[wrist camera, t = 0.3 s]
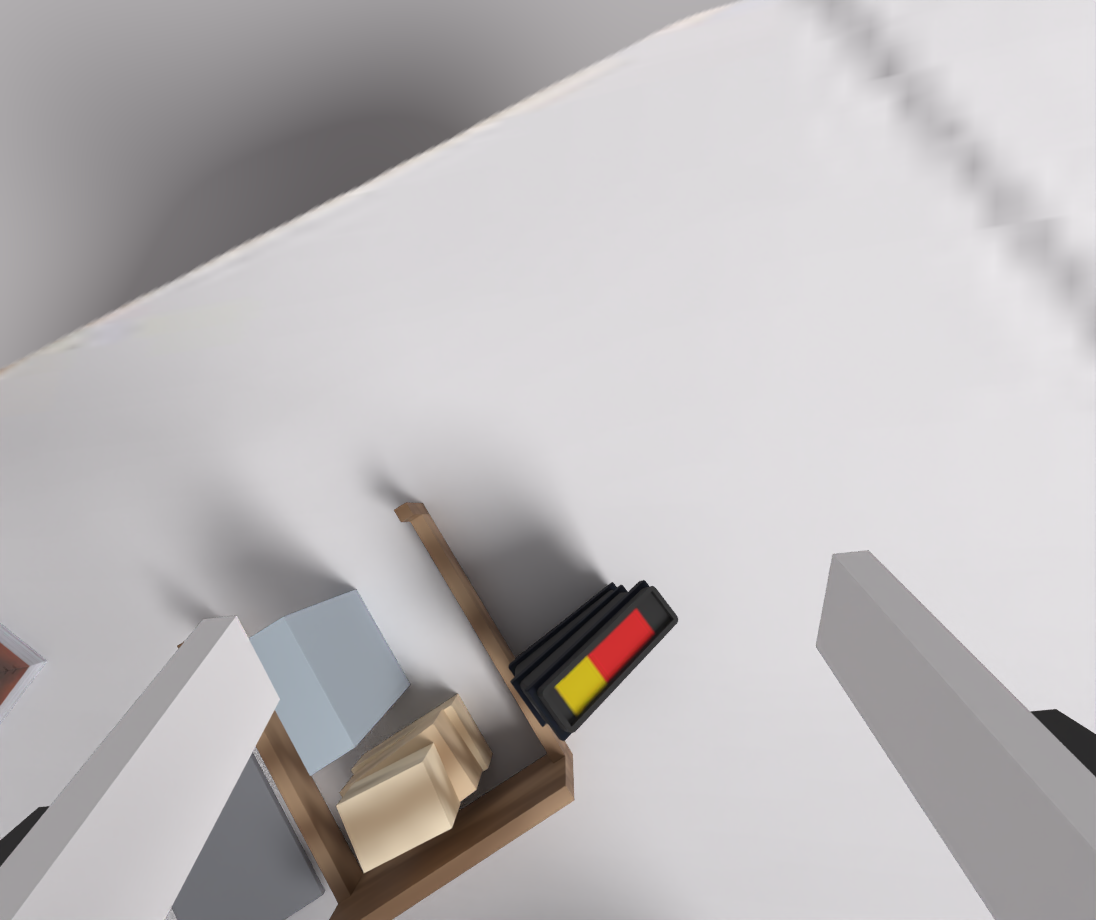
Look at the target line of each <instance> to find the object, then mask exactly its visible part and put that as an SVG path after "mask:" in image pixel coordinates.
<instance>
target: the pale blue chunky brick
mask: <svg viewBox="0 0 1096 920" xmlns="http://www.w3.org/2000/svg"><path fill="white" fill-rule="evenodd" d="M249 640H250V642H251V644H252V646H253V648H254V650H255V652H256V654H257V656H258V658H259V660H260V662H261V663H262V665H263V667H264V669H265V671H266V673H267V675H268V677H269V679H270V681H271V683H272V685H273V687H274V689H275V691H276V693H277V694H278V696H279V698H280V700H279V702H278V704H277V706H276V708H275V711H276V713H277V715H278V717H279V719H280V721H281V722H282V724H283V726H284V728H285V730H286V732H287V734H288V736H289V738H290V739H291V741H292V743H293V745H294V747H295V749H296V751H297V753H298V754H299V756H300V758H301V760H302V762H303V764H304V766H305V768H306V769H307V771H308V773H309V775H310V776H311V775H313V774H314V773H316V772H317V771H319V770H320V769H322V768H324V767H325V766H327V765H328V764H330V763H331V762H333V761H335V760H336V759H338V758H339V757H341V756H342V755H344V754H345V753H347V752H349V751H350V750H352V749H353V748H355V747H356V746H357V745H358V743H359V742H360V741H361V740H362V739H363V738H364V737H365V736H366V734H367V733H368V732H369V731H370V730H371V729H372V728H373V726H374V725H375V724H376V723H377V722H378V721H379V720H380V719H381V717H382V716H383V715H384V714H385V713H386V712H387V711H388V709H389V708H390V707H391V706H392V705H393V704H394V703H395V702H396V700H397V699H398V698H399V697H400V696H401V695H402V694H403V693H404V691H405V690H406V689H407V688H408V687H409V686H410V685H411V684H410V683H409V681H408V679H407V677H406V676H405V674H404V672H403V670H402V669H401V667H400V665H399V663H398V662H397V660H396V658H395V656H394V655H393V653H392V651H391V649H390V647H389V646H388V644H387V642H386V640H385V639H384V637H383V635H382V633H381V632H380V630H379V628H378V626H377V625H376V623H375V621H374V619H373V618H372V616H371V614H370V612H369V611H368V609H367V607H366V605H365V603H364V602H363V600H362V598H361V596H360V595H359V593H358V591H357V589H355V590H353V591H350V592H347V593H345V594H342V595H339V596H337V597H334V598H331V599H329V600H326V601H323V602H321V603H318V604H315V605H313V606H310V607H307V608H305V609H302V610H300V611H297V612H294V613H292V614H289V615H286V616H284V617H282V618H280V619H279V620H277V621H276V622H274V623H272V624H271V625H269V626H268V627H266V628H265V629H263V630H261V631H260V632H258V633H257V634H255V635H253V636H252V637H250V638H249Z"/></svg>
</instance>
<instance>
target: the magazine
mask: <svg viewBox="0 0 1096 920" xmlns="http://www.w3.org/2000/svg"><path fill="white" fill-rule="evenodd" d="M677 622H678V617H677V615H676V614H675V613H674V611H673V610H672V609H671V607H670V606H669V605H668V604H667V602H666V601H665V600H664V598H663V597H662V596H661V594H660V593H659V592H658V590H657V589H656V588H655V587H653V586H651V587H649V585H648V584H647V583H646V581H645V580H643V581H639V582H638V583H637V584H636V585H635V586H634V587H633V588H632V589H631V590H630V591H629V592H627V590H626V589H625V588H624V586H623V585H620V586H618V587H616V586H615V584H614V583H613V582H612V583H610V584H609V585H608V586H607V587H605V588H604V589H603V590H602V591H600V592H599V593H598V594H596V595H595V596H594V597H593V598H591V599H590V600H589V601H588V602H586V603H585V604H584V605H583V606H581V607H580V608H579V609H578V610H576V611H575V612H574V613H573V614H571V615H570V616H569V617H568V618H566V619H565V620H564V621H563V622H561V623H560V624H559V625H557V626H556V627H555V628H554V629H552V630H551V631H550V632H549V633H547V634H546V635H545V636H544V637H542V638H541V639H540V640H538V641H537V642H536V643H535V644H533V645H532V646H531V647H529V648H528V649H527V650H526V651H524V652H523V653H522V654H520V655H519V656H518V657H517V658H516V659H515V660H513V661H512V662H511V663H510V664H509V667H508V668H509V670H510V671H511V672H512V674H513V675H514V678H513V679H512V680H511V681H510V683H511V684H512V685H513V687H514V688H515V690H516V691H517V692H518V694H519V695H520V697H521V698H522V700H523V701H524V702H525V704H526V705H527V707H528V708H529V709H530V711H531V712H532V714H533V715H534V716H535V718H536V719H537V721H538V722H539V724H540V725H541V726H542V727H544V726H545V725H546V724H548V725H549V726H550V727H551V729H552V730H553V732H554V733H555V734H556V736H557V737H558V739H559V740H561V741H565V740H566V739H567V738H568V737H569V735H570V734H571V733H573V732H575V731H576V730H577V729H578V728H579V727H580V726H581V725H582V724H583V723H584V722H585V721H586V720H587V718H588V717H589V716H590V715H591V714H592V713H593V712H594V711H595V710H596V709H597V708H598V707H599V706H600V705H601V704H602V702H603V701H604V700H605V699H606V698H607V697H608V696H609V695H610V694H611V693H612V692H613V691H614V690H615V689H616V688H617V687H618V685H619V684H620V683H621V682H622V681H623V680H624V679H625V678H626V677H627V676H628V675H629V674H630V673H631V672H632V671H633V669H634V668H635V667H636V666H637V665H638V664H639V663H640V662H641V661H642V660H643V659H644V658H645V657H646V656H647V655H648V654H649V652H650V651H651V650H652V649H653V648H654V647H655V646H656V645H657V644H658V643H659V642H660V641H661V640H662V639H663V638H664V636H665V635H666V634H667V633H668V632H669V631H670V630H671V629H672V628H673V627H674V626H675V625H676V624H677Z"/></svg>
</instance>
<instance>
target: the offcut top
mask: <svg viewBox="0 0 1096 920" xmlns="http://www.w3.org/2000/svg"><path fill="white" fill-rule="evenodd" d="M336 807H337V809H338V812H339V814H340V817H341V819H342V821H343V824H344V826H345V829H346V831H347V834H348V836H349V838H350V841H351V843H352V846H353V848H354V851H355V853H356V855H357V858H358V860H359V863H360V865H361V867H362V870H363V872H364V873H365V872H367V871H369V870H371V869H373V868H375V867H377V866H379V865H381V864H383V863H385V862H387V861H389V860H391V859H393V858H395V857H397V856H399V855H401V854H403V853H404V852H406V851H408V850H410V849H412V848H414V847H416V846H418V845H420V844H422V843H424V842H426V841H428V840H430V839H432V838H434V837H436V836H438V835H440V834H442V833H444V832H446V831H447V830H449V829H451V828H452V826H453V824H454V821H455V818H456V815H457V812H458V810H459V807H460V801H459V799H458V797H457V795H456V792H455V790H454V788H453V785H452V783H451V781H450V779H449V776H448V774H447V772H446V770H445V767H444V765H443V763H442V761H441V758H440V756H439V754H438V752H437V749H436V747H435V745H434V743H432V744H430V745H428V746H426V747H424V748H422V749H420V750H418V751H416V752H414V753H412V754H410V755H408V756H406V757H404V758H402V759H400V760H398V761H396V762H394V763H392V764H391V765H389V766H387V767H385V768H383V769H381V770H379V771H377V772H375V773H373V774H371V775H369V776H367V777H365V778H363V779H361V780H359V781H357V782H355V783H353V785H352V786H351V787H350V788H349V790H348V791H347V792H346V794H345V795H344V796H343V797H342V799H341V800H340V801H339V803H338V804H337V805H336Z"/></svg>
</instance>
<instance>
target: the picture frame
mask: <svg viewBox="0 0 1096 920" xmlns="http://www.w3.org/2000/svg"><path fill="white" fill-rule="evenodd" d="M46 662H47V660H46V659H44V658H43V657H42V656H41V655H39V654H38V653H37V652H36V651H34V650H33V649H32V648H31V647H29V646H28V645H27V644H26V643H24V642H23V641H22V640H21V639H19V638H18V637H17V636H16V635H14V634H13V633H12V632H11V631H9V630H8V629H7V628H6V627H4V626H3V625H2V624H1V623H0V724H1V722H2V721H3V720H4V718H5V717H6V716H7V714H8V713H9V712H10V710H11V709H12V708H13V706H14V705H15V704H16V702H17V701H18V700H19V698H20V697H21V696H22V694H23V693H24V692H25V690H26V689H27V688H28V686H29V685H30V683H31V682H32V681H33V679H34V678H35V677H36V675H37V674H38V673H39V671H40V670H41V669H42V667H43V666H44V665H45V663H46Z"/></svg>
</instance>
